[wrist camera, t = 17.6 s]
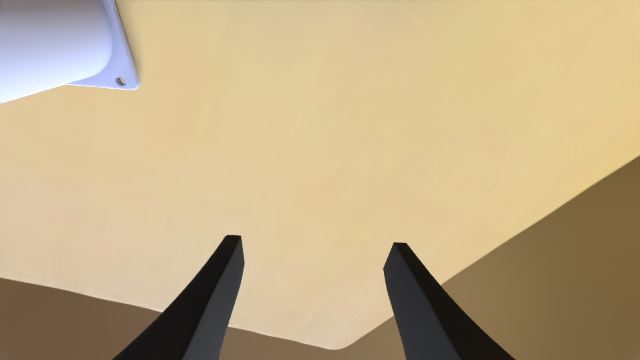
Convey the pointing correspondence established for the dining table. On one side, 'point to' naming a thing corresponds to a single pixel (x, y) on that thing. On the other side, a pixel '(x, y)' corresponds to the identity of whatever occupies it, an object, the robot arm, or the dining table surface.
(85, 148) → the dining table surface
